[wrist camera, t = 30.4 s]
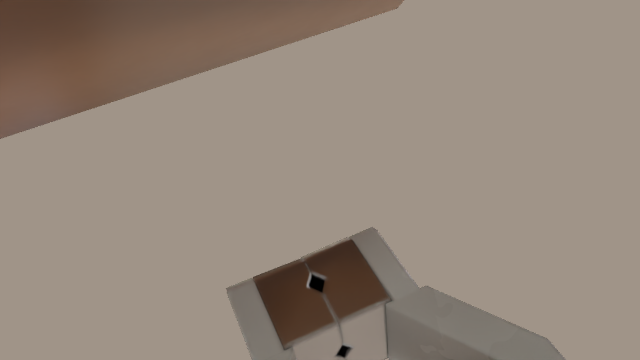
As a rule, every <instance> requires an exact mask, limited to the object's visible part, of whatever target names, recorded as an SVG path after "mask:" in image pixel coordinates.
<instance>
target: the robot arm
mask: <svg viewBox="0 0 640 360" xmlns="http://www.w3.org/2000/svg"><path fill="white" fill-rule="evenodd" d="M226 289H227V294H228V298H229V300H230V303H231V305H232V308H233V311H234V313H235V316H236V318H237V321H238V324H239V327H240V329H241V332H242V334H243V337H244V340H245V342H246V345H247V347H248V350H249V353H250V356H251V358H252V360H385V359H387V358H389V360H565V358H564V357H563V356H562V355H561V354H560V353H559V352H558V350H557V349H556V348H555V347H554V346H553V345H552V344H551V342H550V341H549V340H548V339H547V338H545V337H543V336H540V335H538V334H536V333H533V332H531V331H529V330H527V329H524V328H522V327H520V326H517V325H515V324H513V323H510V322H508V321H506V320H504V319H501V318H499V317H497V316H495V315H492V314H490V313H488V312H486V311H483V310H481V309H479V308H476V307H474V306H472V305H470V304H467V303H465V302H463V301H460V300H458V299H456V298H453V297H451V296H449V295H447V294H444V293H442V292H440V291H438V290H435V289H433V288H431V287H428V286H424V287H422V288H419V287H418V286H417V284H416V283H415V282H414V280H413V279H412V278H411V276H410V275H409V273H408V272H407V271H406V269H405V268H404V267H403V265H402V264H401V262H400V261H399V259H398V258H397V257H396V255H395V254H394V253H393V251H392V250H391V249H390V247H389V246H388V244H387V243H386V242H385V240H384V239H383V237H382V236H381V235H380V233H379V232H378V231H377V230H376V229H375V228H373V227H371V228H369V229H366V230H364V231H362V232H360V233H357V234H355V235H352V236H350V237H346V238H344V239H342V240H339V241H337V242H335V243H332V244H330V245H328V246H325V247H323V248H321V249H319V250H316V251H314V252H312V253H310V254H307V255H305V256H303V257H301V259H298V260H296V261H293V262H291V263H288V264H285V265H283V266H280V267H278V268H275V269H273V270H270V271H268V272H265V273H262V274H260V275H257V276H255V277H253V279H252V278H250V279H247V280H245V281H242V282H240V283H238V284H235V285H233V286H230V287H228V288H226Z"/></svg>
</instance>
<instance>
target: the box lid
mask: <svg viewBox="0 0 640 360" xmlns="http://www.w3.org/2000/svg"><path fill="white" fill-rule="evenodd" d="M403 1H404V0H0V139H1V138H4V137H7V136H10V135H13V134H16V133H19V132H22V131H25V130H28V129H31V128H35V127H38V126H41V125H44V124H47V123H50V122H53V121H56V120H58V119H61V118H65V117H68V116H71V115H74V114H77V113H80V112H83V111H86V110H89V109H92V108H95V107H98V106H102V105H105V104H107V103H111V102H114V101H117V100H120V99H123V98H125V97H129V96H132V95H135V94H138V93H141V92H144V91H147V90H150V89H153V88H156V87H159V86H162V85H165V84H168V83H171V82H174V81H177V80H181V79H183V78H186V77H190V76H193V75H196V74H199V73H202V72H205V71H208V70H211V69H214V68H217V67H220V66H223V65H226V64H229V63H232V62H235V61H238V60H241V59H244V58H248V57H251V56H254V55H257V54H260V53H263V52H266V51H268V50H272V49H275V48H278V47H281V46H284V45H287V44H290V43H293V42H296V41H299V40H302V39H305V38H308V37H311V36H315V35H318V34H321V33H324V32H327V31H330V30H333V29H335V28H339V27H342V26H345V25H348V24H351V23H354V22H357V21H360V20H363V19H366V18H369V17H372V16H375V15H378V14H381V13H385V12H387V11H390V10H393V9H397V8H398V7H399V5H400V4H401V3H402V2H403Z"/></svg>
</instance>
